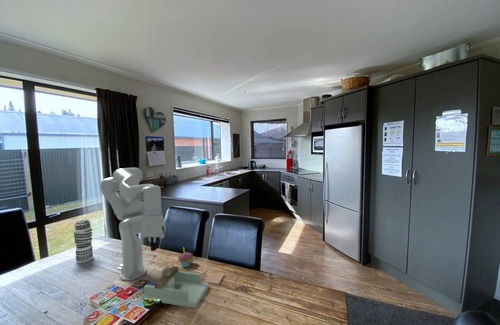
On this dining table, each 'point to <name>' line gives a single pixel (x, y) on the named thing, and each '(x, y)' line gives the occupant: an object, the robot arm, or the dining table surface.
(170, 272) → the latch bar
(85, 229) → the stacked grey column
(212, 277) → the terracotta coaster
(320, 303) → the dining table surface
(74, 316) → the dining table surface
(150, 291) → the puzzle board
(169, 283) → the cream block
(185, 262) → the cupcake
